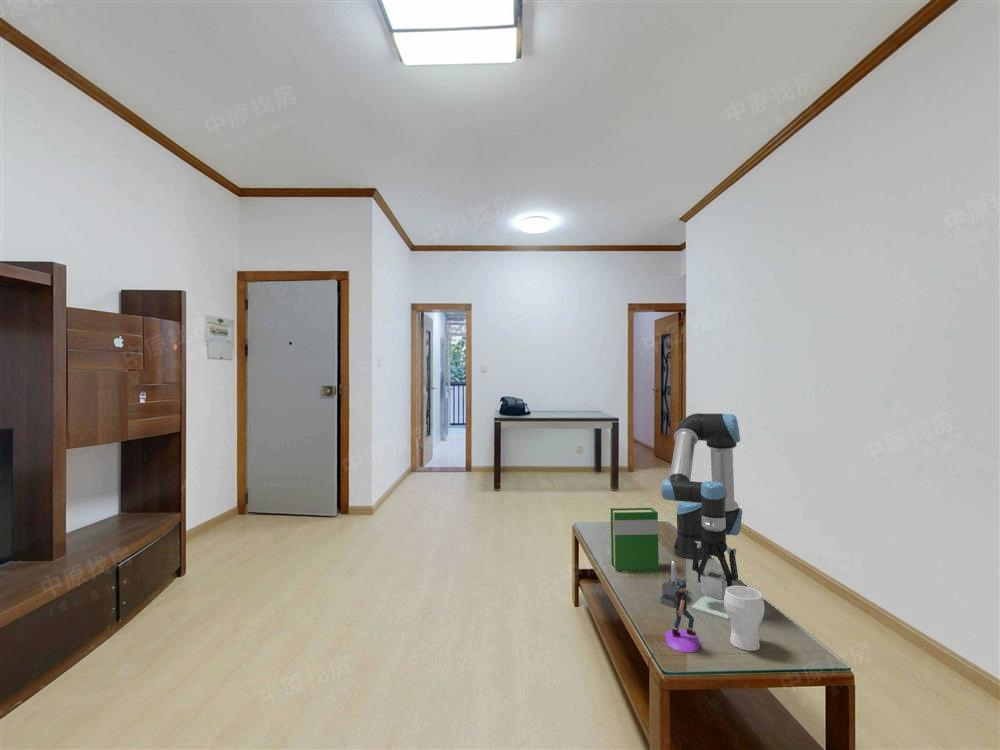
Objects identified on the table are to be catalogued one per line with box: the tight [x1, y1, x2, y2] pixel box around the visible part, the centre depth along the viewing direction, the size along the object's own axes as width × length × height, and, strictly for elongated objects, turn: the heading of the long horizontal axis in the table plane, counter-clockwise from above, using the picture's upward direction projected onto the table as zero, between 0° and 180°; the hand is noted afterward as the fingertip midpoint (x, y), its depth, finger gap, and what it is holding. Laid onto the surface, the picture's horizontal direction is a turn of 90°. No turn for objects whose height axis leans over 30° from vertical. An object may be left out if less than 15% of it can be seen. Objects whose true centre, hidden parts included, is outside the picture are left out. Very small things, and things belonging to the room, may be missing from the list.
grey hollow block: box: [700, 569, 726, 600], centre depth 164 cm, size 7×7×6 cm
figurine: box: [665, 582, 700, 653], centre depth 142 cm, size 9×9×18 cm
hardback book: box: [610, 507, 660, 572], centre depth 201 cm, size 18×7×24 cm, turn 90°
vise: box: [659, 559, 689, 608], centre depth 172 cm, size 16×5×14 cm, turn 137°
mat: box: [690, 594, 730, 621], centre depth 164 cm, size 12×12×1 cm
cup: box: [723, 585, 765, 652], centre depth 142 cm, size 11×11×15 cm
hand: (715, 595), depth 164 cm, fingers closed on grey hollow block, 7 cm apart
